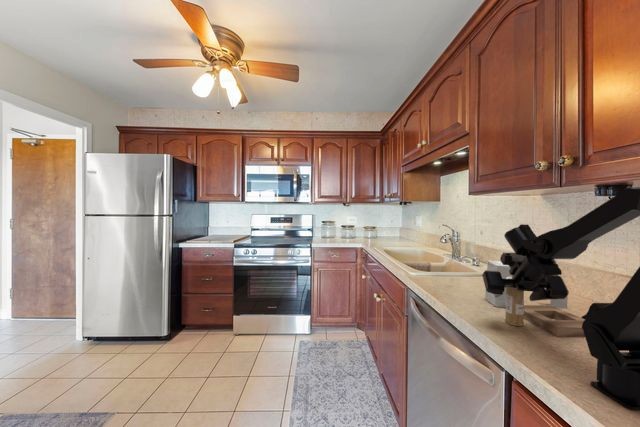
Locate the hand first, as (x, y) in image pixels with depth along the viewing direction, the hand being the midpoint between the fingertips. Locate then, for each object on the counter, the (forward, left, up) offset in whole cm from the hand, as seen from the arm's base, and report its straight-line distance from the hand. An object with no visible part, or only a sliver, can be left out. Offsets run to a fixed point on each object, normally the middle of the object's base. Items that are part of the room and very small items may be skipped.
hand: (512, 297), depth 78 cm
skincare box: (+15, -7, -7) cm, 18 cm away
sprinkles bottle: (-1, 0, -7) cm, 8 cm away
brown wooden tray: (-1, -12, -7) cm, 14 cm away
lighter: (+13, -25, -7) cm, 29 cm away
